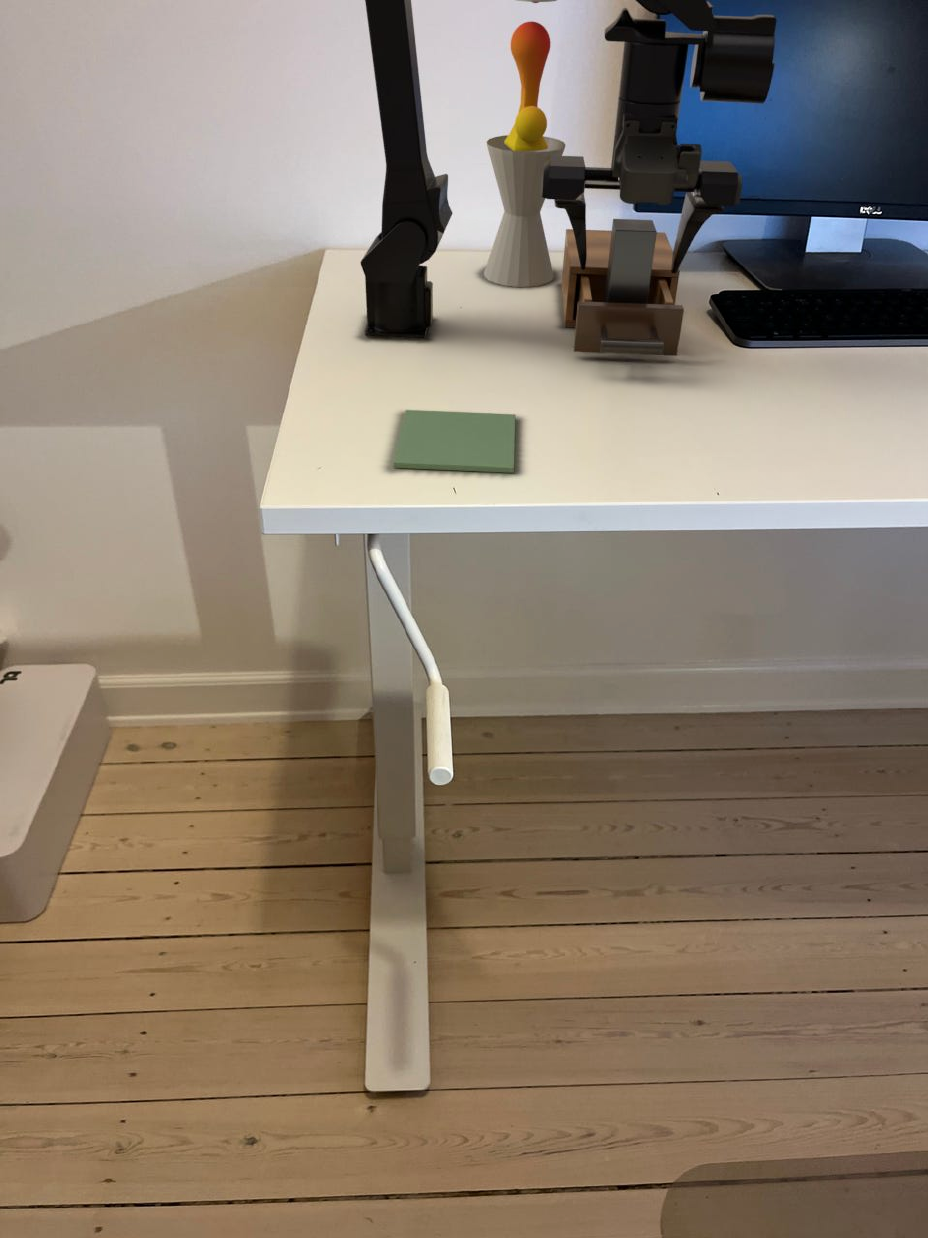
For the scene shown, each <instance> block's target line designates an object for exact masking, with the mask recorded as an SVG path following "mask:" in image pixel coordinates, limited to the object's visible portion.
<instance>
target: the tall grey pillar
mask: <svg viewBox="0 0 928 1238" xmlns="http://www.w3.org/2000/svg"><path fill="white" fill-rule="evenodd" d="M611 231H612V233H611V242H610V251H609V260H608V269H607V278H606V288H605V297H604V302H607V303H633V304H647V300H648V292H649V285H650V278H651V271H652V263H653V256H654V249H655V242H656V234H657V229H656V226H655V224H654V221H653V219H633V218H631V219H630V218H613V219H612V223H611Z"/></svg>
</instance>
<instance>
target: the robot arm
mask: <svg viewBox="0 0 928 1238" xmlns="http://www.w3.org/2000/svg"><path fill="white" fill-rule="evenodd" d="M635 1H636V2H637V4H639V6H641V7H642V8H643V9H644V10H646V11H647V12H649V13H652V14H655V15H658V16H667V15H671V14H672V15H673V16H674V17H675V18H676V19H677V20H678V21H680V23H682V25H684V26H685V27H686V28H687V29H688V30H689V31H692V32H702V33H687V32H686V33H685V32H672V31H667V20H666V19H654V18H652V19H651V18H634V17H633V16H632V15H631V13H630V10H629V9H628V8H627V7H623V8H622V9H621V11H620V13H619V15H618V16H617V18H616V19H614V21H613V22H612V23H610V24H609V25H608V26H607V27H606V28H604V39H605V41H606V42H617V43H623V52H622V60H621V68H620V70H621V71H620V80H619V81H620V82H619V89H618V99H617V106H616V116H615V125H614V126H615V127H614V134H613V136H614V137H613V145H612V154H611V164H610V167H597V166H595V167H594V166H586V162H585V158H584V157H585V156H582V155H581V156H580V155H579V156H578V155H562V156H555V155H549V156H548V157H547V158H546V159H545V160H544V161H543V168H542V183H541V185H542V198H545V200H553V201H554V207H555V208H557V209H563V210H565V213H566V214H567V217H568V219H569V222H570V225H571V229H573V231H574V236H575V240H576V245H577V250H578V255H579V260H580V265H581V270H585V267H586V258H587V248H586V230H587V220H586V219H587V217H586V216H587V215H586V214H587V213H586V212H587V204H586V203H587V202H586V199H585V190H586V189H588V190H590V189H591V190H614V191H615V190H616V191H618V190H619V199H620V200H621V202H623V203H625V204H627V205H628V204H629V205H636V204H638V203H647V204H648V203H649V204H650V203H651V204H656V205H658V206H667V205H669V204H671V203H672V202H673V200H674V195H675V193H685V196H684V200H683V205H682V211H681V215H680V219H679V224H678V227H677V232H676V236H675V242H674V246H673V249H672V251H673V256H672V266H671V271H672V273H676V272H677V271H678V269H680V267H681V265H682V263H683V261H684V259H685V257H686V255H687V253H688V251H689V249H690V247H691V245H692V243H693V241H694V239H695V237H696V236H697V234H698V233H699V231H700V230H701V228H702V226H703V225H704V224H705V223H706V222H707V221H708V220H709V219H710V217H711V216H714V215H721V214H723V212H724V209H725V207H735V206H738V205H739V204H740V200H741V194H742V191H743V178H742V176H741V175H740V173H739V172H738V170H737V169H736V167H734V165H733V163H732V162H731V161H723V160H722V161H721V160H702V153H703V152H702V151H703V150H702V145H701V144H700V143H680V144H678V138H677V132H678V124H679V119H680V118H679V117H680V109H681V104H682V95H683V89H684V82H685V81H684V80H685V75H686V66H687V60H688V53H689V48H690V46H691V45H693V46H694V49H693V55H692V61H691V70H690V79H689V81H690V82H689V87H690V89H697V88H698V93H699V97H700V101H701V102H714V103H715V102H716V103H717V102H718V103H734V104H735V103H736V104H737V103H739V104H759V105H761V104H762V105H763V104H764V103H765V102H766V100H767V98H768V94H769V92H770V88H771V84H772V80H773V75H774V70H775V62H774V54H775V45H776V44H775V42H776V39H775V38H776V37H775V33H776V28H777V23H778V20H777V18H776V17H775V16H774V15H772V14H756V15H753V16H738V15H737V16H736V15H735V16H734V15H733V16H732V15H714V14H713V11H714V6H713V5H712V3H711V2H710V1H709V0H708V1H707V0H635ZM364 2H365V3H364V4H365V10H366V19H367V25H368V27H367V28H368V33H369V42H370V48H371V49H370V50H371V57H372V65H373V66H372V67H373V72H374V81H375V89H376V97H377V104H378V112H379V113H378V114H379V119H380V127H381V134H382V143H383V150H384V151H383V152H384V158H385V159H384V160H385V176H384V184H383V194H382V203H381V231H380V232H379V233H378V235H377V236H375V238H374V239H373V241H372V243H371V245H370V246H369V248H368V249H367V251H366V252H365V254H364V256H363V257H362V259H361V260H360V266H361V269H362V272H363V274H364V276H365V277H364V282H365V283H364V284H365V303H366V304H365V305H366V325H365V328H364V336H365V337H368V338H370V337H371V338H391V339H392V338H395V339H396V338H397V339H418V340H420V339H422V340H423V339H425V338H426V336H427V332H428V329H430V328H431V327H432V324H433V318H434V307H433V306H434V282H432V281H431V280H428V266H427V265H423V264H425V263H426V262H427V261H430V259H431V258H432V257H433V256H434V254H435V253H436V251H437V249H438V247H439V245H440V243H441V240H442V238H443V236H444V234H445V231H446V229H447V227H448V225H449V222H450V220H451V218H452V216H453V214H454V213H453V211H452V208H451V206H450V203H449V199H448V192H449V191H448V190H449V189H448V188H449V174H448V173H444V174H440V175H437V176H436V175H435V172H434V171H433V168H432V165H431V163H430V160H429V157H428V151H427V140H426V139H427V138H426V132H425V122H424V112H423V102H422V92H421V83H420V73H419V63H418V54H417V45H416V34H415V25H414V17H413V16H414V15H413V5H412V0H364Z"/></svg>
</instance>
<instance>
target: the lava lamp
mask: <svg viewBox="0 0 928 1238" xmlns="http://www.w3.org/2000/svg"><path fill="white" fill-rule="evenodd" d="M517 1H518V2H528V3H533V4H539V3H549V2H556V1H558V0H516V2H517ZM550 51H551V37H550V34H549V32H548V30H547V29H546V27H545V26H544V25H543V24H541V23H539V22H537V21H532V20H531V21H526V22H523V23H521V24H520V25H519V26H518V27H516V29H515V30H514V32H513V33H512V35H511V39H510V52H511V55H512V57H513V60H514V62H515V64H516V65H515V66H516V68H517V70H518V75H519V81H520V104H519V109H518V112H517V115H516V117H515V119H514V124H513V126H512V128H511V130H510V131H509V133H508V134H505V135H497V136H494V137H491V138H488V140H487V141H486V147H487V151H488V155H489V158H490V162H491V165H492V166H491V167H492V169H493V170H492V171H493V173H494V177H495V180H496V183H497V189H498V192H499V195H500V199H501V203H502V207H503V210H504V211H503V214H502V218H501V220H500V224H499V226H498V229H497V232H496V235H495V239H494V241H493V245H492V248H491V250H490V253H489V257H488V259H487V263H486V265H485V269H484V272H483V276H484V278H485V279H486V280H488V281H489V282H491V283H495V284H497V285H502V286H505V287H513V288H514V287H516V288H531V287H538V286H542V285H546V284H548V283H550V282H551V281H553V280H554V277H555V274H554V271H553V266H552V262H551V257H550V252H549V248H548V243H547V237H546V234H545V227H544V224H543V220H542V215H541V210H542V208H543V206H544V204H545V200H546V198H542V185H541V183H542V168H543V161H544V160H545V159H546V158H547V157H548V156H549V155H555V156H563V154H564V152H565V148H566V143H565V142H564V141H563V140H560V139H557V138H554V137H549V136H545V133H546V130H547V127H548V120H547V116H546V113H545V112H544V111H543V110H542V109H541V108H539V105H538V103H539V94H540V87H541V82H542V77H543V73H544V69H545V66H546V63H547V60H548V58H549V57H548V56H549V54H550Z"/></svg>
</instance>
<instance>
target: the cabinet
mask: <svg viewBox="0 0 928 1238" xmlns="http://www.w3.org/2000/svg"><path fill="white" fill-rule="evenodd" d="M611 233H612V230H602V229H586V248H587V258H586V267H585V270H581V265H580V260H579V255H578V250H577V245H576V240H575V236H574V231H573V228H566V229H565V238H564V248H563V249H564V250H563V262H562V276H561V298H562V308H563V321H564V322H563V323H564V327H565V328H576V317H577V295H578V284H579V274H598V275H607V269H608V260H609V251H610V242H611ZM672 256H673V248H672V246H671V244H670V241H669V239H668V235H667V233H666V232H661V231H660V232H659V231H658V232H657V234H656V242H655V249H654V256H653V263H652V271H651V276H653V277H665V279H666V282H667V285H668V288H669V291H670V294H671V297H672V299H673V302H674V303H673V305H676V301H677V300H676V299H677V292H678V288H679V287H678V286H679V279H680V274H681V273H680V272H681V270H680V268H679V269H678V271H677V272H676V273H672V271H671V266H672Z"/></svg>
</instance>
